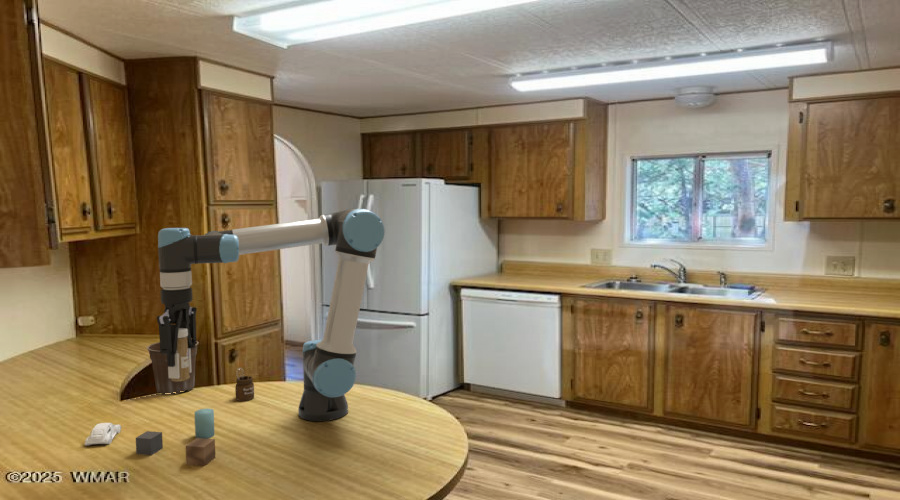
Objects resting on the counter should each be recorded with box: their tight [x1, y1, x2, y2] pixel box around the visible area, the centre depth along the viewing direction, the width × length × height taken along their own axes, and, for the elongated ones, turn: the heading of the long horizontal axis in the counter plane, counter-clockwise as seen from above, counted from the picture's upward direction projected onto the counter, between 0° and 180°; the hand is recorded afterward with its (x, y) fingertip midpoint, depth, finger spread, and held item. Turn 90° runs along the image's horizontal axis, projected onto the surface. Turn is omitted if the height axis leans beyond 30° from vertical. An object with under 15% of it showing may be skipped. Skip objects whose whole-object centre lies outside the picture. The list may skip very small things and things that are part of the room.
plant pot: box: [146, 340, 199, 395], centre depth 210 cm, size 16×16×16 cm
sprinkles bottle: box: [171, 328, 190, 382], centre depth 158 cm, size 5×5×14 cm
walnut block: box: [185, 437, 216, 467], centre depth 154 cm, size 5×5×5 cm
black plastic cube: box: [135, 430, 164, 456], centre depth 160 cm, size 4×4×4 cm
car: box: [84, 422, 122, 447], centre depth 168 cm, size 12×6×5 cm, turn 10°
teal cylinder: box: [194, 408, 216, 439], centre depth 170 cm, size 5×5×7 cm
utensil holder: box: [234, 360, 255, 402], centre depth 201 cm, size 6×6×12 cm
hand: (180, 375), depth 158 cm, fingers closed on sprinkles bottle, 4 cm apart
